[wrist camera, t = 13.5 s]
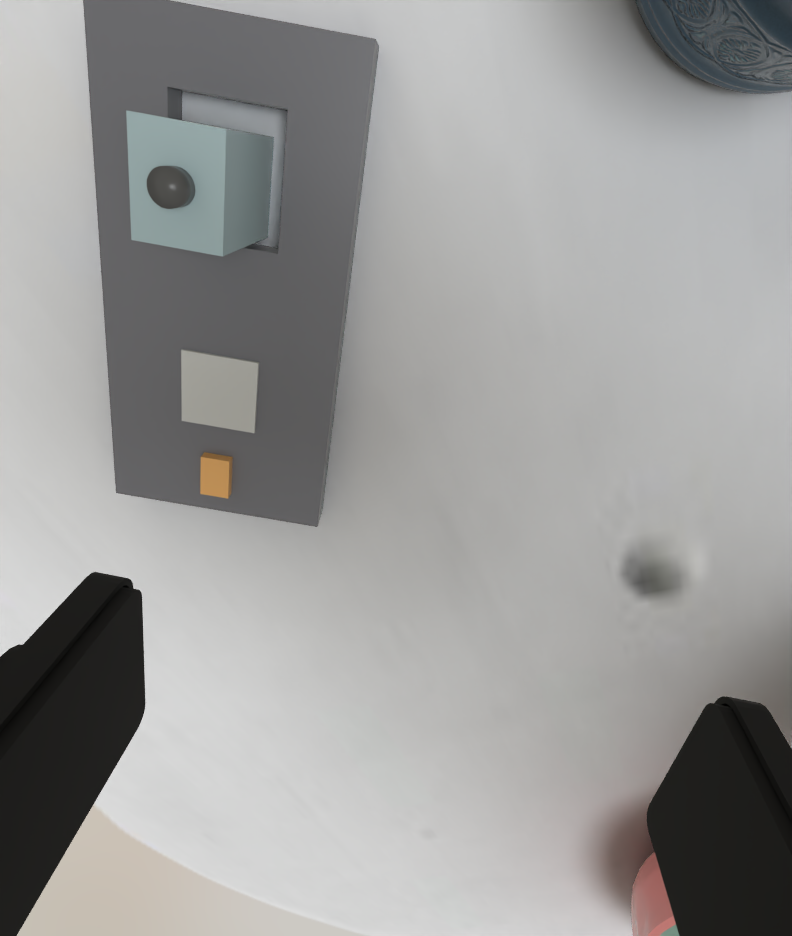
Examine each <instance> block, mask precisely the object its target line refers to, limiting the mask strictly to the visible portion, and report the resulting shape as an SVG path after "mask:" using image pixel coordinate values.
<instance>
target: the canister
mask: <svg viewBox="0 0 792 936" xmlns="http://www.w3.org/2000/svg"><path fill="white" fill-rule="evenodd" d="M635 1H636V4H637V6H638V9H639V12H640V14H641V16H642V19H643V21H644V23H645V25H646V27H647V28H648V30H649V32H650V34H651V35H652V37H653V38H654V40H655V41H656V42H657V44H658V45H659V47H660V48H661V49H662V50H663V51H664V52H665V54H666V55H667V56H668V57H669V58H670V59H671V60H673V61H674V62H675V63H676V64H677V65H678V66H680V67H681V68H682V69H684V70H685V71H687V72H688V73H690V74H691V75H693V76H695V77H697V78H699V79H701V80H703V81H706V82H708V83H711V84H714V85H716V86H719V87H722V88H725V89H729V90H733V91H738V92H744V93H755V94H771V93H781V92H789V91H792V0H635Z"/></svg>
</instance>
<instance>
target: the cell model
mask: <svg viewBox="0 0 792 936" xmlns="http://www.w3.org/2000/svg"><path fill="white" fill-rule="evenodd" d="M631 922H632V931H633V936H679V933H678V930H677V926H676V923H675V919H674V916H673V913H672V909H671V906H670V902H669V899H668V896H667V892H666V889H665V885H664V882H663V879H662V875H661V872H660V868H659V865H658V862H657V858H656V855H655V852H653V853H652V854H651V855H650V856H649V857H648V858H647V859H646V860H645V862H644V863H643V865H642V866H641V867H640V869H639V871H638V873H637V875H636V878H635V880H634V884H633V887H632V896H631Z"/></svg>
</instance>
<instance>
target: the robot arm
mask: <svg viewBox="0 0 792 936" xmlns="http://www.w3.org/2000/svg"><path fill="white" fill-rule="evenodd" d="M144 710H145V681H144V648H143V615H142V594H141V592H140V590H136V589H133V583H132V581H131V580H130V579H128V578H123V577H118V576H113V575H108V574H103V573H98V572H94V573H91V574H90V575H89V576H87V577H86V578H85V579H84V580H83V581H82V583H81V584H80V585H79V586H78V587H77V588H76V589H75V590H74V591H73V592H72V593H71V594H70V595H69V596H68V597H67V598H66V600H65V601H64V602H63V603H62V604H61V605H60V606H59V607H58V608H57V609H56V610H55V611H54V612H53V613H52V614H51V616H50V617H49V618H48V619H47V620H46V621H45V622H44V623H43V624H42V625H41V626H40V627H39V628H38V629H37V630H36V632H35V633H34V634H33V635H32V636H31V637H30V638H29V639H28V640H27V641H26V642H25V643H24V644H23V645H17V646H15V647H12V648H10V649H9V650H8V651H7V652H5V653H4V654H3V655H2V656H1V657H0V936H17V934H18V932H19V930H20V929H21V927H22V925H23V924H24V922H25V920H26V918H27V917H28V915H29V913H30V912H31V910H32V908H33V907H34V905H35V903H36V901H37V900H38V898H39V896H40V895H41V893H42V891H43V889H44V888H45V886H46V884H47V883H48V881H49V879H50V877H51V876H52V874H53V872H54V871H55V869H56V867H57V866H58V864H59V862H60V860H61V859H62V857H63V855H64V854H65V852H66V850H67V848H68V847H69V845H70V843H71V842H72V840H73V838H74V836H75V835H76V833H77V831H78V830H79V828H80V826H81V824H82V823H83V821H84V819H85V818H86V816H87V814H88V813H89V811H90V809H91V807H92V806H93V804H94V802H95V801H96V799H97V797H98V795H99V794H100V792H101V790H102V789H103V787H104V785H105V784H106V782H107V780H108V778H109V777H110V775H111V773H112V772H113V770H114V768H115V766H116V765H117V763H118V761H119V760H120V758H121V756H122V754H123V753H124V751H125V749H126V748H127V746H128V744H129V743H130V741H131V739H132V737H133V736H134V734H135V732H136V731H137V729H138V727H139V725H140V723H141V720H142V717H143V714H144ZM647 826H648V831H649V834H650V838H651V841H652V845H653V848H654V851H655V855H656V858H657V862H658V865H659V868H660V872H661V875H662V879H663V882H664V885H665V889H666V892H667V896H668V899H669V902H670V906H671V909H672V913H673V916H674V919H675V923H676V926H677V930H678V933H679V936H792V749H791V748H790V746H789V744H788V742H787V741H786V739H785V737H784V736H783V734H782V732H781V731H780V729H779V727H778V725H777V724H776V722H775V720H774V719H773V717H772V715H771V714H770V712H769V711H768V709H767V708H766V707H765V706H764V705H762V704H760V703H756V702H751V701H746V700H741V699H736V698H731V697H721V698H719V699H718V700H717V701H716V702H715V703H714V704H713V703H710V704H708V705H706V707H705V708H704V710H703V711H702V713H701V715H700V717H699V718H698V720H697V722H696V724H695V725H694V727H693V729H692V731H691V732H690V734H689V736H688V738H687V739H686V741H685V743H684V745H683V746H682V748H681V750H680V752H679V753H678V755H677V757H676V759H675V760H674V762H673V764H672V766H671V767H670V769H669V771H668V773H667V775H666V776H665V778H664V780H663V782H662V783H661V785H660V787H659V789H658V790H657V792H656V794H655V796H654V797H653V799H652V801H651V803H650V805H649V807H648V811H647Z"/></svg>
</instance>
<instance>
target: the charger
mask: <svg viewBox="0 0 792 936" xmlns="http://www.w3.org/2000/svg"><path fill="white" fill-rule="evenodd" d="M126 117H127V142H128V167H129V192H130V217H131V240H135V241H140V242H146V243H151V244H157V245H162V246H168V247H173V248H179V249H184V250H190V251H195V252H201V253H206V254H212V255H217V256H225V255H227V254H230V253H232V252H234V251H237V250H239V249H241V248H244V247H246V246H249V245H251V244H253V243H256V242H258V241H260V240H263V239H265V238H267V237H268V226H269V209H270V193H271V176H272V160H273V143H274V137H270V136H264V135H259V134H254V133H248V132H243V131H237V130H232V129H227V128H221V127H216V126H211V125H205V124H200V123H195V122H189V121H183V120H178V119H172V118H167V117H161V116H155V115H150V114H144V113H139V112H133V111H127V110H126Z"/></svg>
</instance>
